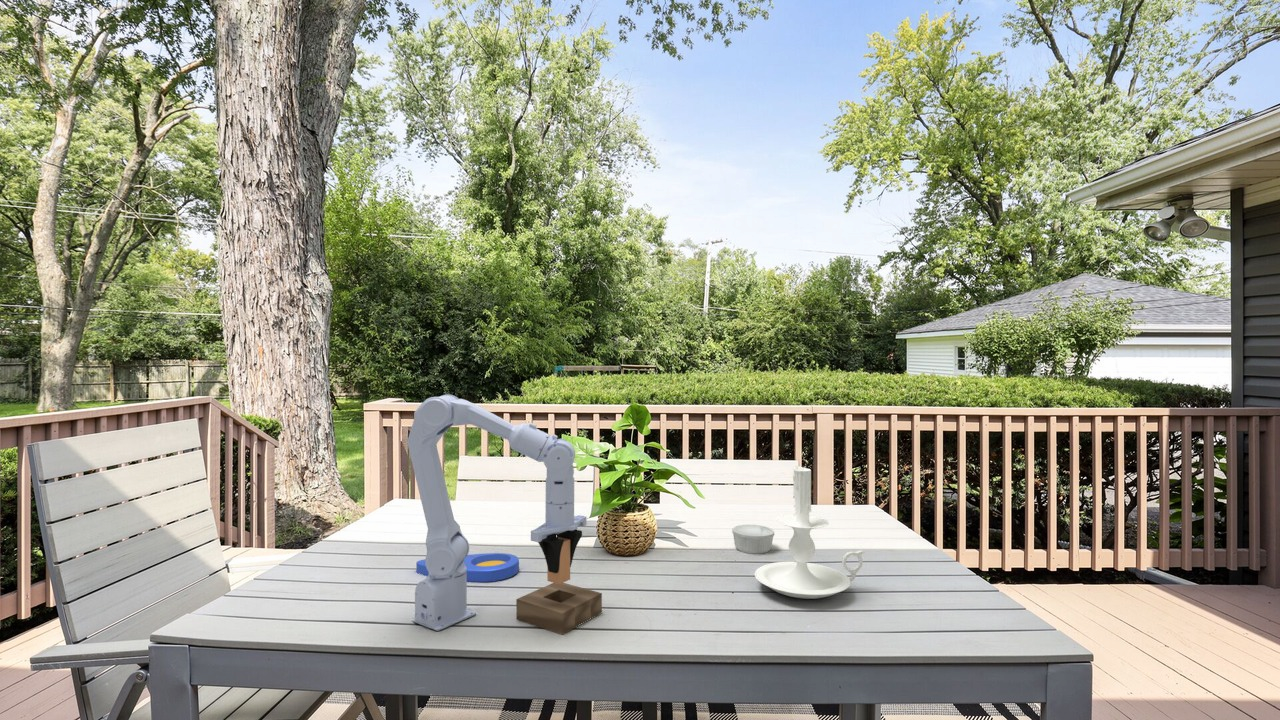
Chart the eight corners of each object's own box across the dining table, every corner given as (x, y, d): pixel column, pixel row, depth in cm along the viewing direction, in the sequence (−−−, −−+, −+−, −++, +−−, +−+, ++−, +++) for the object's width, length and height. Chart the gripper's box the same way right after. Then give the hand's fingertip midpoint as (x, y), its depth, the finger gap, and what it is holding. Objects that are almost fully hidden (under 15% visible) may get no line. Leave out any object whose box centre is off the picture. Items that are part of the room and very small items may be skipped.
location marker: (404, 583, 142) (510, 583, 140) (404, 568, 142) (509, 569, 140) (428, 564, 155) (525, 564, 153) (428, 551, 155) (524, 551, 153)
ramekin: (782, 552, 163) (782, 533, 163) (746, 557, 159) (746, 537, 159) (759, 541, 174) (759, 522, 174) (724, 545, 170) (725, 526, 170)
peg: (559, 584, 120) (559, 543, 120) (547, 580, 122) (547, 540, 122) (570, 579, 123) (570, 539, 123) (558, 576, 125) (558, 537, 125)
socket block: (562, 634, 114) (562, 613, 114) (516, 619, 121) (516, 599, 121) (601, 612, 124) (601, 593, 124) (557, 599, 131) (557, 581, 131)
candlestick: (886, 607, 127) (887, 472, 127) (770, 611, 125) (771, 474, 125) (844, 573, 148) (844, 457, 148) (744, 576, 145) (744, 458, 145)
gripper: (550, 511, 114) (549, 584, 114) (598, 497, 126) (597, 563, 126) (522, 506, 118) (522, 576, 118) (571, 493, 130) (571, 556, 130)
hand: (559, 569), depth 122 cm, fingers closed on peg, 3 cm apart
